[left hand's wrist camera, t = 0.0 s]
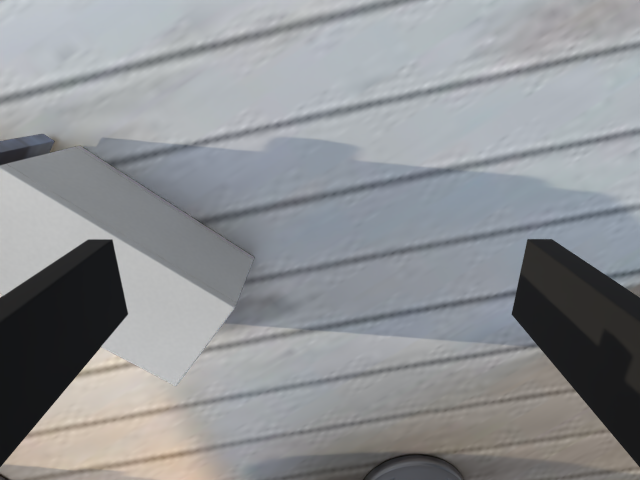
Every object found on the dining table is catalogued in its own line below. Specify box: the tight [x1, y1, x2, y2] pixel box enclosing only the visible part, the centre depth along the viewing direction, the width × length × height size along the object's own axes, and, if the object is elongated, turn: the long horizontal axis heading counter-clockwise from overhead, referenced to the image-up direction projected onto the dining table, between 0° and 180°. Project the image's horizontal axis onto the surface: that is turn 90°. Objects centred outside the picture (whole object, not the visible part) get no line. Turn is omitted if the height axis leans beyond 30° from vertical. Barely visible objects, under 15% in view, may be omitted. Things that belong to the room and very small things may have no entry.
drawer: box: [0, 134, 54, 165], centre depth 36 cm, size 26×9×9 cm, turn 54°
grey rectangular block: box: [0, 146, 254, 386], centre depth 37 cm, size 20×10×11 cm, turn 54°
